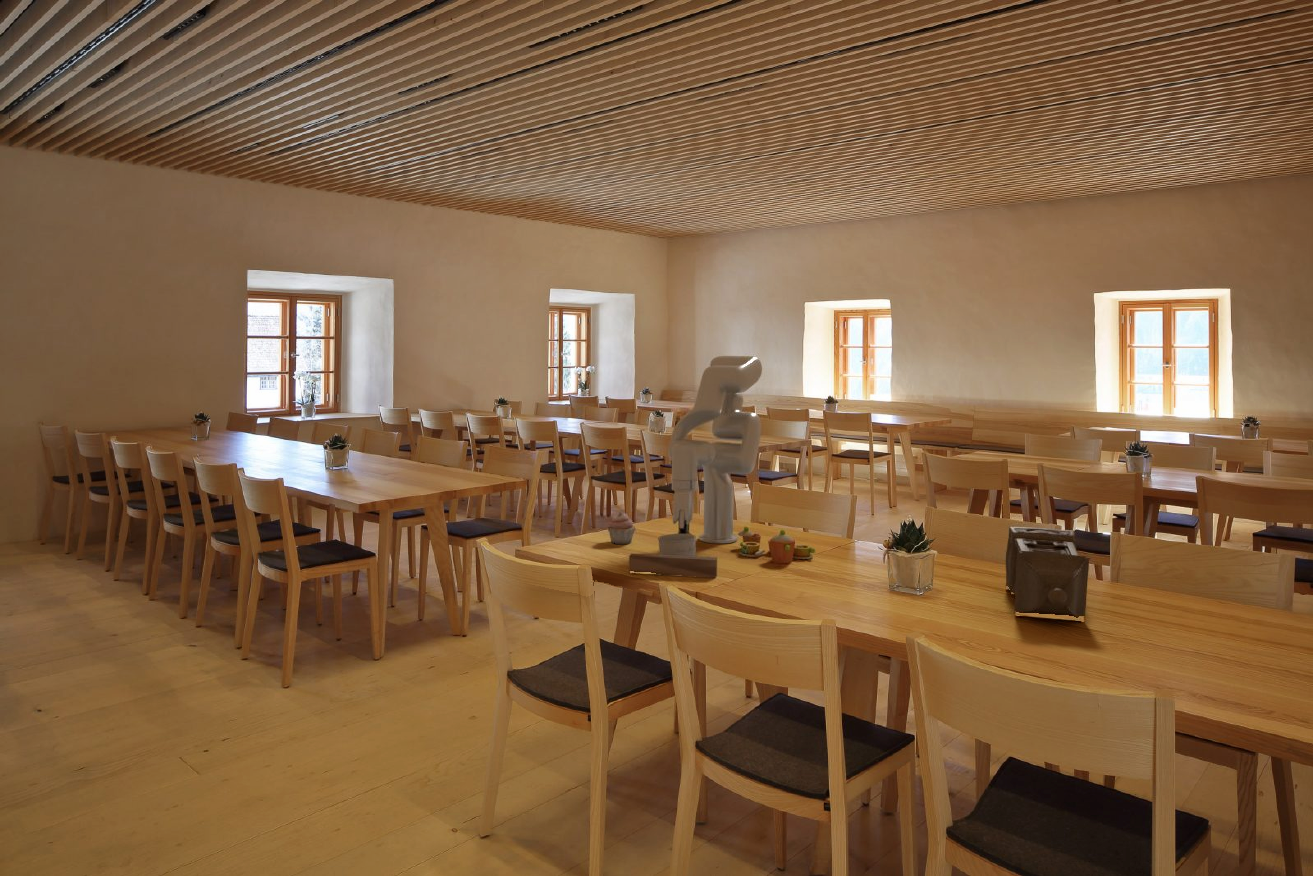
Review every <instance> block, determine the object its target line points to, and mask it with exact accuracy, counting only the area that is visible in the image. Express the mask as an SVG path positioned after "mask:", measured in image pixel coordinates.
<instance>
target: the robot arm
mask: <svg viewBox="0 0 1313 876" xmlns="http://www.w3.org/2000/svg"><path fill="white" fill-rule="evenodd" d="M709 364H710V365H709V366H708V367H706V368H705V369H704V371H703V373H702V375H701V379H700V382H699V386H698V390H697V394H696V398H695V401H694V405H693V407H692V409H690V410H689V411H688V412H686V414H684V415H683V416H682V417H681V418H680V419H679V420H678V422H676V424H675V426H674V428H673V430H672V433H671V436H670V440H669V445H668V450H667V452H668V453H667V454H668V458H669V459H670V461H671V490H672V491H674V495H673V508H672V509H673V510H672V523H673V525H676V524H677V522H678V526H677V527H678V531H677V532H678V533H677V534H687V533H691V532H690V523H691V522H692V520H693V515H694V492H695V491H697V490H698V466H702V470H703V486H704V487H703V490H704V491H703V533H700V534H698V540H699V541H701V542H705V543H709V544H731V543H735V542H737V541H738V539H739V535H738V534H734V494H735V489H734V486H735V485H734V483H733V481H732V479H731V477H730V476H729V474H738V475H748V474H751V473H752V472H753V470H754V469H755V466H756V462H757V458H758V457H757V456H758V452H759V447H760V441H761V433H762V421H761V418H760V416H759V415H758V414H757V413H755V412H752V411H743V404H744V397H743V394H742V393H744V392H746V391H748V390H749V389H750V388H752V387H753V386H754V385H755V384H756V383H758V381H759V380H760V379H761V376H762V374H763V372H762V371H763V365H762V362H761V360H760V359H759V358H758V357H757V356H749V355H745V356H744V355H720V356H716V357H713V358H712V359H711V361H710V363H709ZM710 422H712V426H711V432H712V436H713V437H714V438H716V439H717V440H723V441H732V442H733V441H734V442H735V443H731V442H718V441H717V442H715V441H713V442H709V441H706V440H696V439H686V438H687V437H688V435H689V433H690V432H692V431H693V430H694V429H696V428H698V427H700V426H702V425H704V424H707V423H710ZM736 442H741V443H736Z"/></svg>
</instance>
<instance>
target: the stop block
mask: <svg viewBox="0 0 1313 876" xmlns="http://www.w3.org/2000/svg"><path fill="white" fill-rule="evenodd" d="M629 571H634V572H651V573H656V574H661V575H660V576H664V575H682V576H681V577H685V576H696V577H695V578H706V577H714V578H713V579H716V578H717V576H718V557H716V556H713V557H712V556H696V555H695V556H676V555H660V554H649V553H630V554H629V555H628V572H629Z"/></svg>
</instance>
